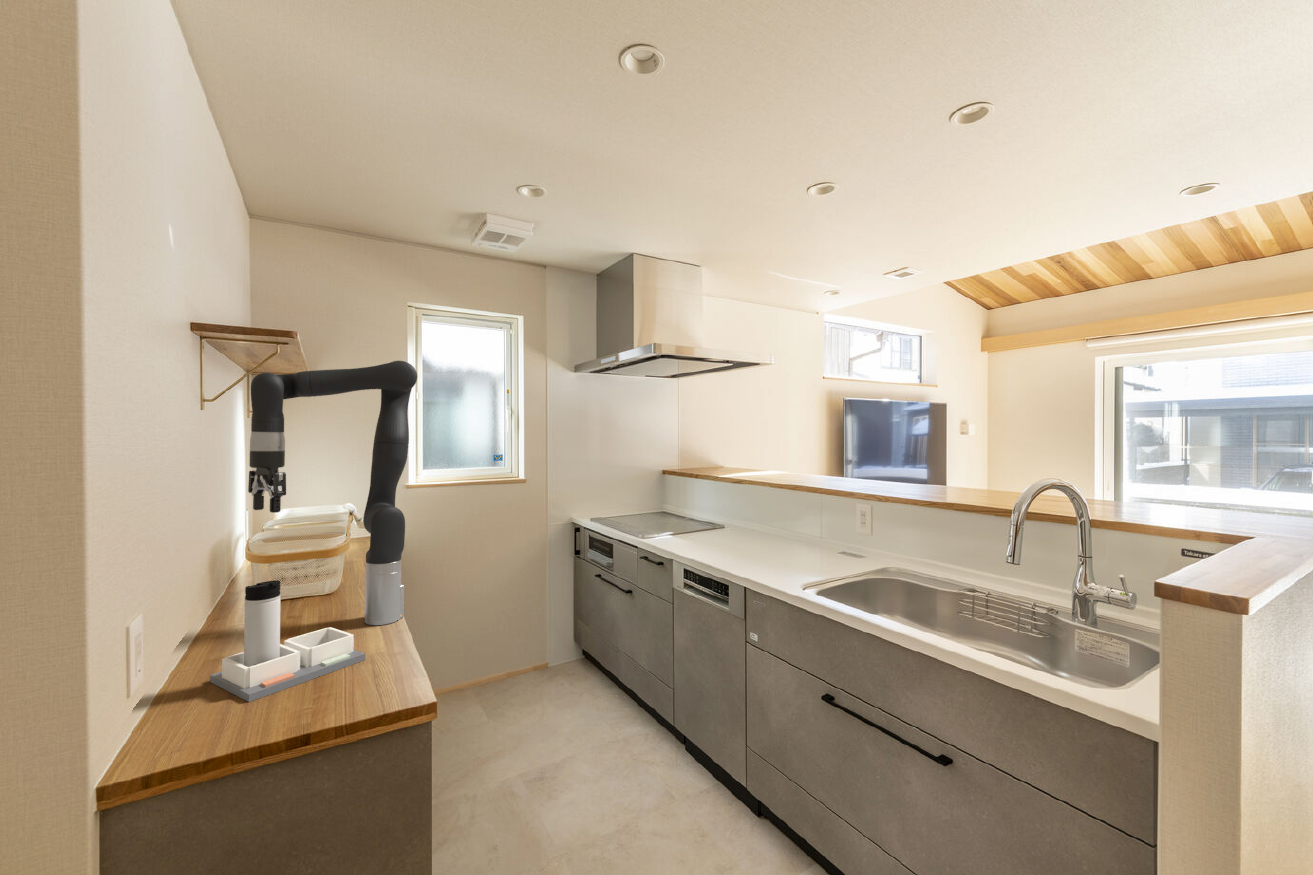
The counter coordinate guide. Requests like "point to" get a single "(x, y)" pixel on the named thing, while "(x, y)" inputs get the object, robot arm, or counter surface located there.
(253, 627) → the travel mug
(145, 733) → the counter surface
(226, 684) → the holder board
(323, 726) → the counter surface
